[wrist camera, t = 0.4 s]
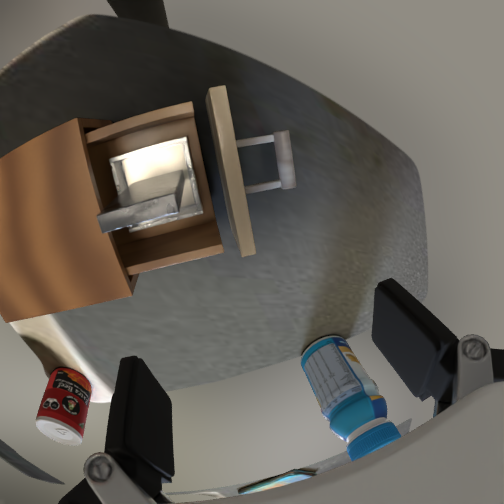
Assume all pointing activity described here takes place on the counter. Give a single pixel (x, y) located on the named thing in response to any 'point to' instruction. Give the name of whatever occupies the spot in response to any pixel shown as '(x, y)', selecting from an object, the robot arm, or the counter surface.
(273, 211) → the counter surface
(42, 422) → the canned food
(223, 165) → the drawer
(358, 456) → the beverage bottle
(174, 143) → the silver open box
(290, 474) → the dish towel
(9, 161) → the cabinet
